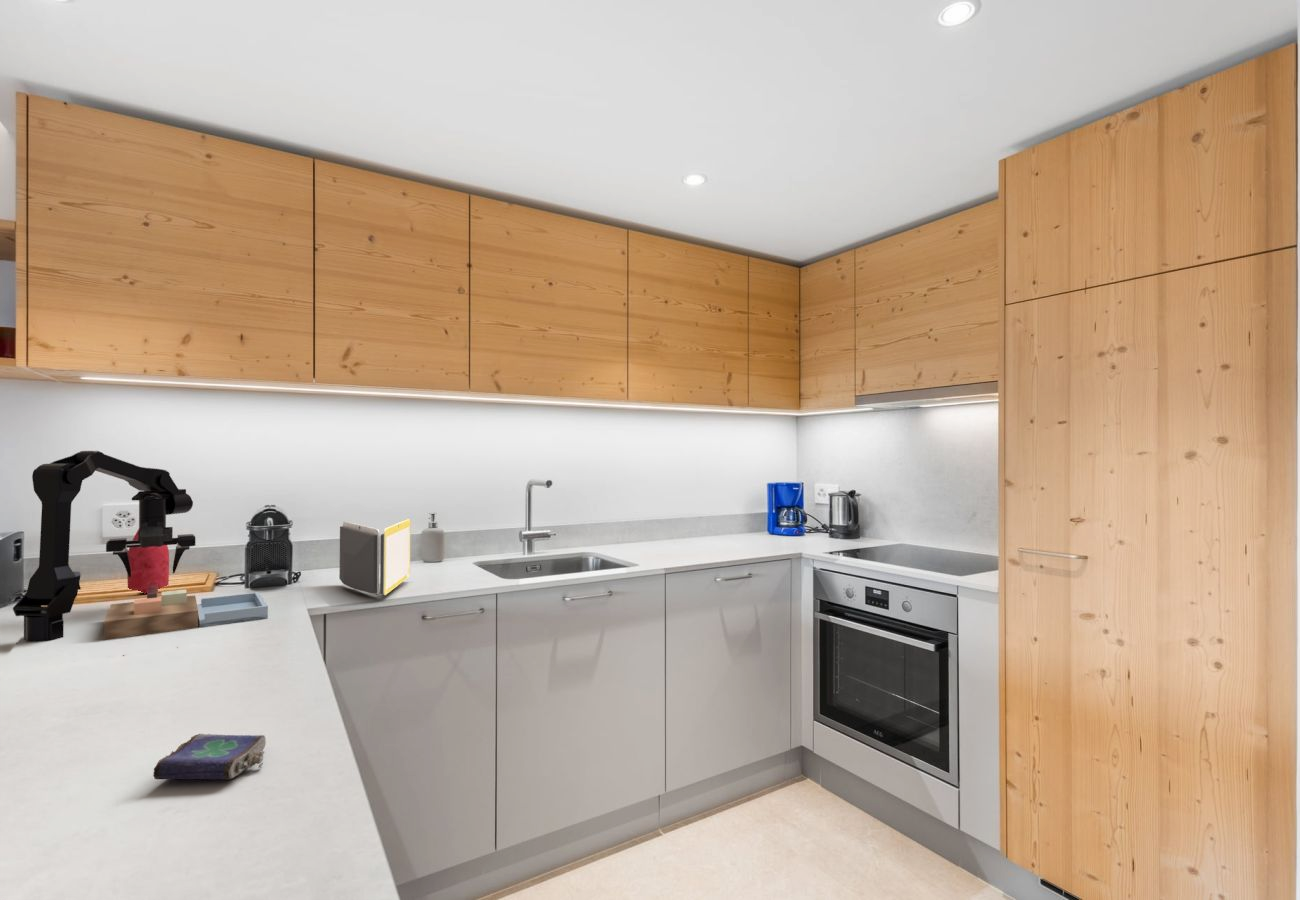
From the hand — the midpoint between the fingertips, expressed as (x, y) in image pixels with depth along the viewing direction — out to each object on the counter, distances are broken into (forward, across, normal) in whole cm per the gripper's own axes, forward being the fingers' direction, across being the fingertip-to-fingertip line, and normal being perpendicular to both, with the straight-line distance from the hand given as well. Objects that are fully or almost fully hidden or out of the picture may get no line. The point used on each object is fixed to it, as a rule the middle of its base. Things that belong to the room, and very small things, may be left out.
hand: (152, 575), depth 172 cm
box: (+9, +16, -21) cm, 28 cm away
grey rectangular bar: (+9, 0, 0) cm, 9 cm away
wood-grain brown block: (+9, +1, -21) cm, 23 cm away
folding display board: (+9, +58, -6) cm, 59 cm away
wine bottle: (+9, -1, +25) cm, 27 cm away
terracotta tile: (+5, 0, -24) cm, 25 cm away
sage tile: (+5, +5, -17) cm, 19 cm away
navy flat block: (+10, +5, -114) cm, 115 cm away
